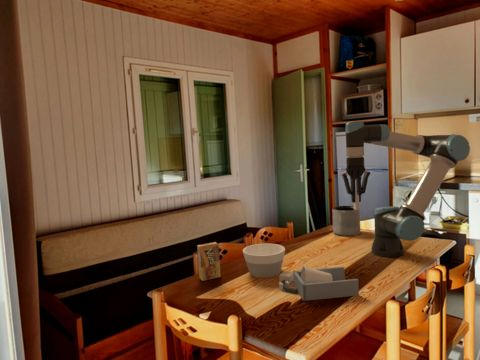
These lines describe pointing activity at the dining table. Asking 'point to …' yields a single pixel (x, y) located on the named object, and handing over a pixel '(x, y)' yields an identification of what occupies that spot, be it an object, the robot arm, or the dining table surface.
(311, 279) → the cup
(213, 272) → the candy box
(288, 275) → the clamp and clip
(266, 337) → the dining table surface
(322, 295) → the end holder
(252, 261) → the bowl
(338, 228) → the planter
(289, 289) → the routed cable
